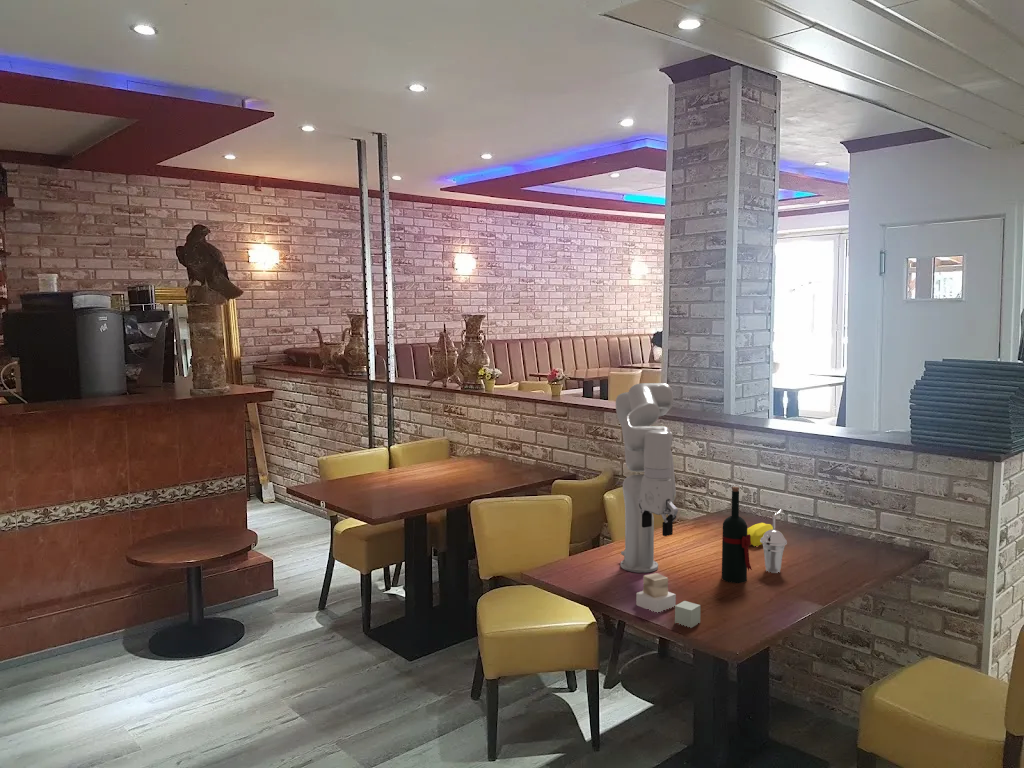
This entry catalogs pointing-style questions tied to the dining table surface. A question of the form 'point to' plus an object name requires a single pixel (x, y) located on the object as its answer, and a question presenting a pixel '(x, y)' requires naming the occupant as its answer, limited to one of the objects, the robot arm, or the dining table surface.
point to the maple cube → (655, 585)
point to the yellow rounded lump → (758, 532)
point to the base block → (655, 601)
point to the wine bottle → (735, 545)
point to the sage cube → (687, 614)
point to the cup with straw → (773, 548)
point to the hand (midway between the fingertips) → (656, 531)
